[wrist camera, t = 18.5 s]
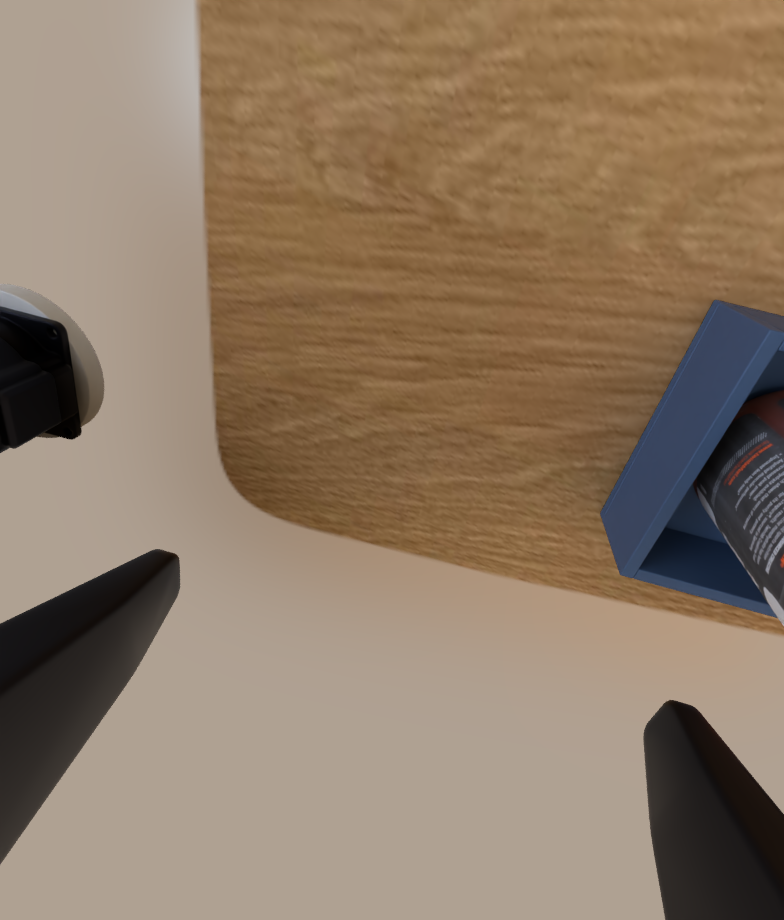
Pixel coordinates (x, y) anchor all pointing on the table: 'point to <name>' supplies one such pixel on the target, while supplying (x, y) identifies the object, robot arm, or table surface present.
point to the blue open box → (694, 461)
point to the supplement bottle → (751, 493)
